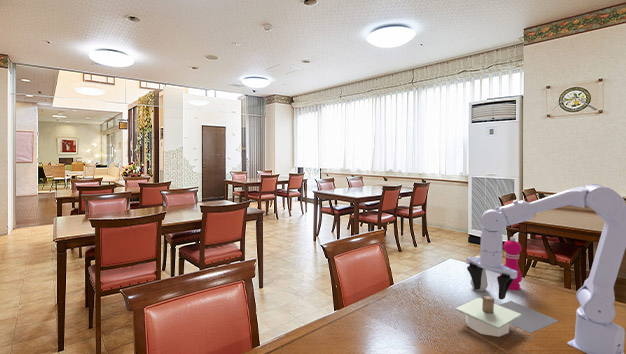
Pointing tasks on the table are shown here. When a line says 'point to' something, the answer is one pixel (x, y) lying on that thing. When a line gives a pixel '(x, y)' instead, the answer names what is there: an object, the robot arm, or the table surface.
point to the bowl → (485, 327)
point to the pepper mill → (513, 260)
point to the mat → (528, 317)
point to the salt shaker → (483, 279)
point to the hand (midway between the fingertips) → (489, 293)
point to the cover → (488, 312)
